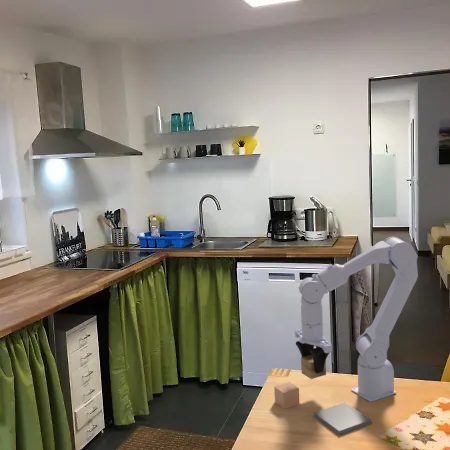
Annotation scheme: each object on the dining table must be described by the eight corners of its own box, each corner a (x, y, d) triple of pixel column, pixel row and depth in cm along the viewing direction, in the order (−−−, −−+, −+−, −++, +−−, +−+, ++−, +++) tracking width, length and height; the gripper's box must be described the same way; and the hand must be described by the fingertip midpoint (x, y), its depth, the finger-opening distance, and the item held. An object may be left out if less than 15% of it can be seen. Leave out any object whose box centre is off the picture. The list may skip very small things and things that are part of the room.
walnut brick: (316, 368, 141) (315, 353, 141) (326, 374, 137) (325, 358, 137) (301, 373, 139) (301, 357, 139) (311, 379, 135) (310, 363, 135)
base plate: (344, 406, 132) (344, 402, 132) (371, 423, 123) (371, 419, 123) (314, 416, 128) (314, 412, 128) (339, 434, 119) (339, 431, 119)
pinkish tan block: (290, 397, 138) (289, 381, 138) (299, 404, 134) (298, 388, 134) (274, 402, 136) (274, 386, 136) (283, 409, 132) (283, 393, 132)
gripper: (285, 317, 141) (287, 363, 143) (316, 332, 128) (317, 382, 130) (305, 312, 144) (307, 357, 146) (337, 327, 131) (339, 375, 133)
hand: (313, 368), depth 138 cm, fingers closed on walnut brick, 4 cm apart
